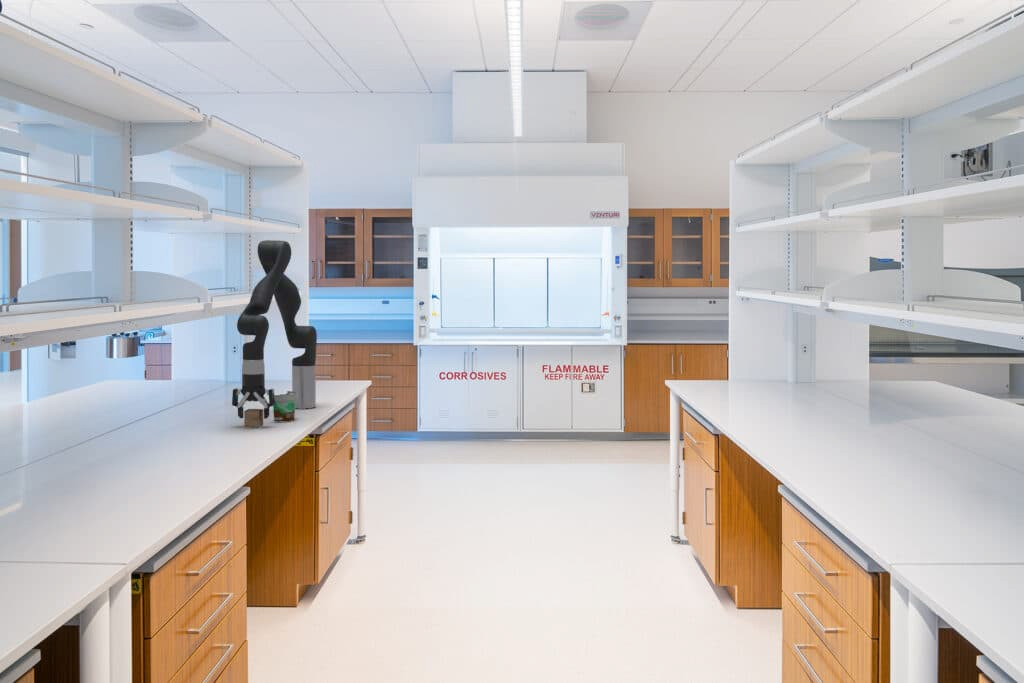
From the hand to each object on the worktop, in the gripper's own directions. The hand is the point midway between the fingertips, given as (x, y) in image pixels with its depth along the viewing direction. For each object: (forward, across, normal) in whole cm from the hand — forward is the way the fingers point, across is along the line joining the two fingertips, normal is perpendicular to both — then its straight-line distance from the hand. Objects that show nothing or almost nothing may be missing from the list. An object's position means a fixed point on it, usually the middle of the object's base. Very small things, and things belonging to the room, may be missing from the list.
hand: (253, 418), depth 276 cm
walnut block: (+3, 0, 0) cm, 3 cm away
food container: (+3, -8, -14) cm, 17 cm away
